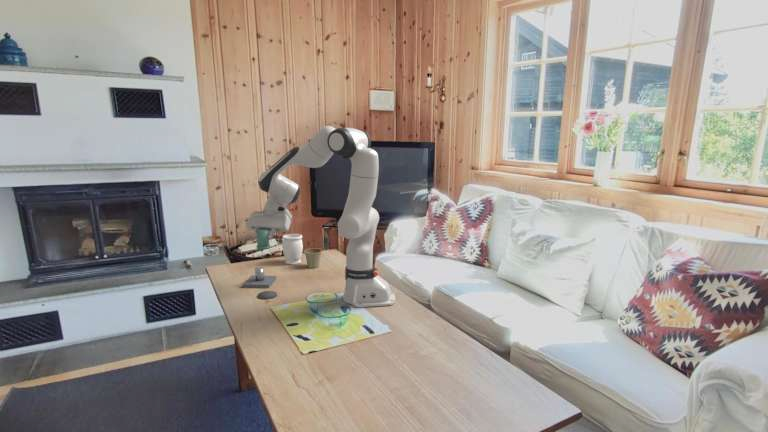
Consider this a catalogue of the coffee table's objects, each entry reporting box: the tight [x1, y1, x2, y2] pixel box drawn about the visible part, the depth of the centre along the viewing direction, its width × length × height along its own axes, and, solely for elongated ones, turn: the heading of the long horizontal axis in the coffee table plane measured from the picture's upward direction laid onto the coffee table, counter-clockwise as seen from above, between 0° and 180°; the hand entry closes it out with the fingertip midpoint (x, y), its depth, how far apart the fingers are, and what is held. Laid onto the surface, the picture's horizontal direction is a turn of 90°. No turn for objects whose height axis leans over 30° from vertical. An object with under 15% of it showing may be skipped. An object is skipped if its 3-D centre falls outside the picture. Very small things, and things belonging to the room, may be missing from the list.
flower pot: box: [303, 247, 323, 269], centre depth 220 cm, size 9×9×9 cm
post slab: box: [242, 274, 277, 289], centre depth 195 cm, size 12×12×2 cm
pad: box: [257, 290, 278, 300], centre depth 181 cm, size 8×8×1 cm
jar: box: [282, 233, 304, 266], centre depth 225 cm, size 11×10×15 cm
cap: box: [256, 229, 271, 251], centre depth 182 cm, size 6×6×8 cm
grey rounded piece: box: [254, 266, 265, 281], centre depth 195 cm, size 4×6×6 cm, turn 179°
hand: (262, 238), depth 181 cm, fingers closed on cap, 5 cm apart
